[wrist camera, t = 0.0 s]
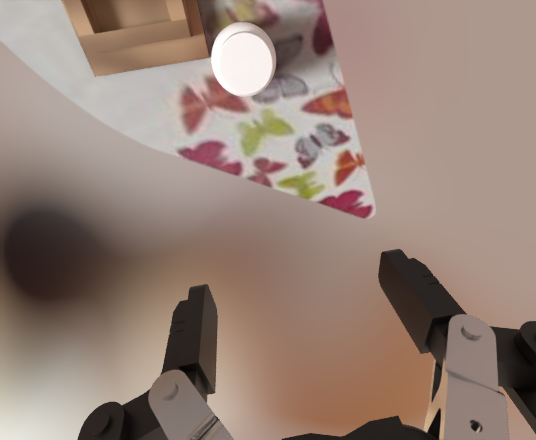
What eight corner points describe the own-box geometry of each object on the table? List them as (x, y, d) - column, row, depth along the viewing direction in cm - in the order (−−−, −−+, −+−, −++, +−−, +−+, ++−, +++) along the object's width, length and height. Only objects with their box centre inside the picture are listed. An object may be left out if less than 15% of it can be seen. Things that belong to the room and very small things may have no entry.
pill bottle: (231, 9, 30) (232, 0, 21) (277, 46, 33) (296, 52, 24) (204, 64, 33) (196, 77, 24) (249, 94, 35) (257, 116, 26)
